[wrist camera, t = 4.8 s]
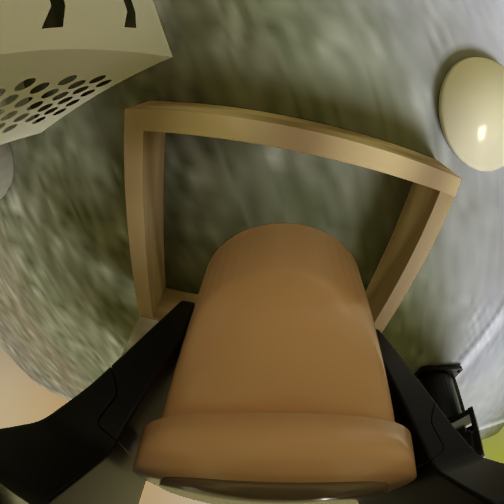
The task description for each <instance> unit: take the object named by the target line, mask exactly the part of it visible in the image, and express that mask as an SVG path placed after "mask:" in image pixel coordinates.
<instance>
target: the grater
mask: <svg viewBox="0 0 504 504" xmlns="http://www.w3.org/2000/svg"><path fill="white" fill-rule="evenodd" d="M131 1H132V4H133V7H134V10H135V14H136V28H129V27H124V26H125V20H126V15H127V9H126V6H125V3H124V0H64V2H65V14H64V22H63V27H56V28H44V29H42V26H43V24H44V21H45V19H46V17H47V15H48V12H49V10H50V8H51V3H50V0H0V89H2V90H3V93H4V94H3V95H2V96H0V102H1V101H2V100H4V99H5V100H6V103H7V105H6V106H1V107H0V110H2V109H3V110H4V112H3V113H2V114H1V115H0V145H2V144H5V143H8V142H11V141H14V140H18V139H21V138H24V137H28V136H32V135H35V134H39V133H41V132H43V131H44V130H45V129H47V128H48V127H49V126H51V125H52V124H54V123H55V122H56V121H58V120H59V119H61V118H62V117H63V116H65V115H66V114H68V113H69V112H71V111H72V110H74V109H75V108H77V107H79V106H80V105H82V104H83V103H85V102H86V101H88V100H90V99H91V98H93V97H95V96H96V95H98V94H100V93H101V92H103V91H105V90H107V89H108V88H110V87H112V86H114V85H116V84H117V83H119V82H121V81H123V80H125V79H127V78H129V77H131V76H133V75H135V74H137V73H139V72H141V71H143V70H145V69H147V68H149V67H151V66H154V65H156V64H158V63H160V62H162V61H165V60H167V59H169V58H172V54H171V51H170V48H169V45H168V42H167V40H166V37H165V34H164V31H163V28H162V25H161V22H160V20H159V17H158V14H157V11H156V8H155V5H154V2H153V0H131ZM73 75H76V76H77V78H76V79H75V80H73V81H71V82H70V83H67V84H65V85H61V86H60V85H58V83H59V82H60V81H61V80H63V79H65V78H67V77H69V76H73ZM102 75H106V77H105V78H104V79H102V80H100V81H98V82H95V83H91V84H90V83H89V82H90V81H91V80H92V79H94V78H96V77H99V76H102ZM30 78H36V81H35V82H34V83H33V84H32V85H31V86H29V87H27V88H25V87H24V84H23V81H24V80H26V79H30ZM81 80H86V81H85V83H83V84H82V85H80V86H78V87H76V88H73V89H68V87H69V86H70V85H72V84H73V83H75V82H78V81H81ZM106 80H112V81H111V82H109V83H108V84H106V85H103V86H101V87H96V85H98V84H99V83H101V82H103V81H106ZM46 82H47V83H49V86H48V87H47V88H45V89H43V90H42V91H40V92H37V93H34V94H30V91H31V89H33V88H34V87H36V86H37V85H40V84H42V83H46ZM84 86H89V87H88V88H87V89H86V90H84V91H82V92H80V93H77V94H73V92H74V91H75V90H77V89H79V88H81V87H84ZM56 88H57V89H59V91H58V92H57V93H55V94H54V95H52V96H50V97H47V98H41V96H42V95H43V94H45V93H46V92H48V91H50V90H52V89H56ZM93 89H95V91H94V92H93V93H91V94H89V95H86V96H83V97H80V95H82V94H83V93H85V92H87V91H89V90H93ZM63 92H69V93H68V94H67V95H66V96H64V97H63V98H60V99H58V100H52V99H53V98H54V97H55V96H57V95H58V94H61V93H63ZM28 97H32V98H33V99H32V100H31V101H30V102H29V99H28ZM67 97H73V98H72V99H71V100H69V101H68V102H65V103H63V104H58V103H59V102H60V101H61V100H63V99H65V98H67ZM77 99H80V100H79V101H78V102H77V103H75V104H73V105H71V106H66V105H67V104H68V103H70V102H71V101H74V100H77ZM39 101H43V103H42V104H41V105H40V106H38V107H37V108H35V109H32V108H31V105H32V104H34V103H36V102H39ZM50 103H53V105H52V106H51V107H49V108H48V109H46V110H44V111H41V112H38V110H39V109H40V108H41V107H43V106H45V105H47V104H50ZM55 107H58V109H57V110H55V111H54V112H52V113H50V114H47V115H44V113H45V112H46V111H48V110H50V109H52V108H55ZM64 108H66V110H65V111H63V112H62V113H60V114H57V115H53V114H54V113H55V112H57V111H59V110H61V109H64ZM6 114H8V119H7V120H5V121H1V119H2V117H4V116H5V115H6ZM36 114H40V115H39V116H38V117H37V118H35V117H34V115H36ZM41 117H46V118H45V119H43V120H42V121H40V122H38V123H37V122H36V120H37V119H39V118H41ZM1 123H2V124H1Z"/></svg>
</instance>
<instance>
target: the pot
mask: <svg viewBox="0 0 504 504" xmlns="http://www.w3.org/2000/svg"><path fill="white" fill-rule="evenodd" d="M133 472H134V473H135V474H136V475H138V476H139V477H141V478H142V479H144V480H146V481H149V482H151V483H153V484H155V485H157V486H160V487H161V488H162V489H164V490H166V491H169V492H171V493H174V494H177V495H179V496H183V497H186V498H190V499H193V500H197V501H202V502H206V503H211V504H354V503H359V502H363V501H367V500H370V499H374V498H377V497H379V496H382V495H384V494H386V493H388V492H389V491H392V490H395V489H397V488H400V487H402V486H404V485H406V484H408V483H410V482H412V481H413V480H414V479H415V478H416V477H417V473H416V465H415V457H414V450H413V444H412V437H411V433H410V431H409V430H408V429H407V428H406V427H405V426H403V425H400V424H398V423H396V422H395V419H394V413H393V407H392V402H391V396H390V391H389V386H388V381H387V376H386V372H385V367H384V363H383V358H382V354H381V350H380V345H379V341H378V337H377V333H376V329H375V325H374V321H373V318H372V314H371V310H370V307H369V303H368V300H367V296H366V293H365V289H364V286H363V282H362V279H361V276H360V273H359V269H358V266H357V264H356V262H355V260H354V258H353V256H352V255H351V253H350V252H349V250H348V249H347V248H346V247H345V246H344V245H343V244H342V243H341V242H339V241H338V240H337V239H335V238H334V237H332V236H330V235H329V234H327V233H325V232H323V231H320V230H318V229H315V228H312V227H309V226H305V225H299V224H292V223H275V224H266V225H261V226H257V227H253V228H250V229H248V230H245V231H243V232H241V233H239V234H237V235H235V236H233V237H232V238H230V239H229V240H227V241H226V242H225V243H224V244H223V245H222V246H220V247H219V248H218V250H217V251H216V252H215V253H214V255H213V256H212V258H211V260H210V262H209V263H208V266H207V269H206V272H205V275H204V278H203V281H202V284H201V287H200V290H199V294H198V297H197V300H196V303H195V306H194V309H193V312H192V315H191V319H190V322H189V325H188V328H187V332H186V335H185V338H184V341H183V345H182V348H181V351H180V355H179V358H178V361H177V365H176V368H175V371H174V375H173V378H172V382H171V385H170V389H169V392H168V396H167V399H166V403H165V406H164V410H163V414H162V417H161V418H160V419H157V420H154V421H152V422H150V423H149V424H147V425H146V426H145V428H144V430H143V433H142V437H141V440H140V444H139V447H138V451H137V454H136V458H135V462H134V465H133Z"/></svg>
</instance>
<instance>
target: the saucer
mask: <svg viewBox="0 0 504 504" xmlns="http://www.w3.org/2000/svg"><path fill="white" fill-rule="evenodd" d="M439 119H440V124H441V128H442V131H443V135H444V137H445V139H446V142H447V143H448V145H449V147H450V149H451V150H452V151H453V153H454V154H455V155H456V156H457V157H458V158H459V159H460V160H462V161H463V162H464V163H466V164H467V165H469V166H470V167H472V168H474V169H477V170H480V171H494V170H497V169H499V168H501V167H503V166H504V68H503V67H502V66H501V65H500V64H498V63H497V62H495V61H493V60H491V59H487V58H481V57H468V58H465V59H462V60H460V61H458V62H457V63H456V64H455V65H453V66H452V67H451V69H450V70H449V71H448V73H447V74H446V76H445V78H444V80H443V83H442V86H441V90H440V95H439Z"/></svg>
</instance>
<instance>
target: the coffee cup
mask: <svg viewBox="0 0 504 504" xmlns="http://www.w3.org/2000/svg"><path fill="white" fill-rule="evenodd" d="M13 172H14V165H13V157H12V152H11V149H10V146H9V143H5V144H2V145H0V199H1V198H2V197H3V196H4V195H5V194H6V192H7V191H8V188H9V186H10V185H11V182H12V179H13Z"/></svg>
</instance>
